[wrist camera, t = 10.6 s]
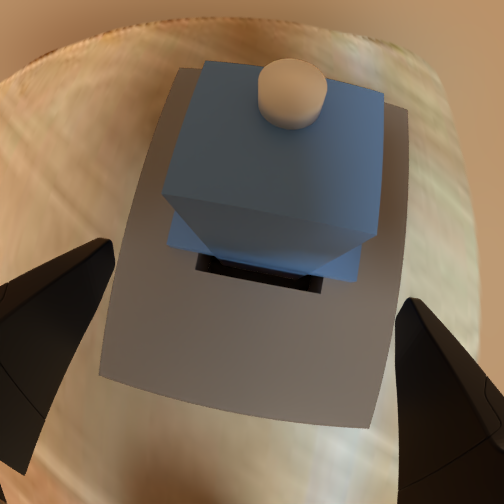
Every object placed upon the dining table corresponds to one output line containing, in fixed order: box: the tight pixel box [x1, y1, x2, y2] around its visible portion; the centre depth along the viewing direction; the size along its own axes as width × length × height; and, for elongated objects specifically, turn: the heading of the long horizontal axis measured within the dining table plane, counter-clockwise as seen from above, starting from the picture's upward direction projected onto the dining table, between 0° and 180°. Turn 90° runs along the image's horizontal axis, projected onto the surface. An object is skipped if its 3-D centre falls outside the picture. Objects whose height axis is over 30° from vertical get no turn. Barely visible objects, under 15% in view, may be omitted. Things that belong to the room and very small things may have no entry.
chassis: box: [99, 68, 409, 429], centre depth 17 cm, size 18×14×4 cm
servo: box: [161, 58, 384, 282], centre depth 13 cm, size 4×9×14 cm, turn 79°
